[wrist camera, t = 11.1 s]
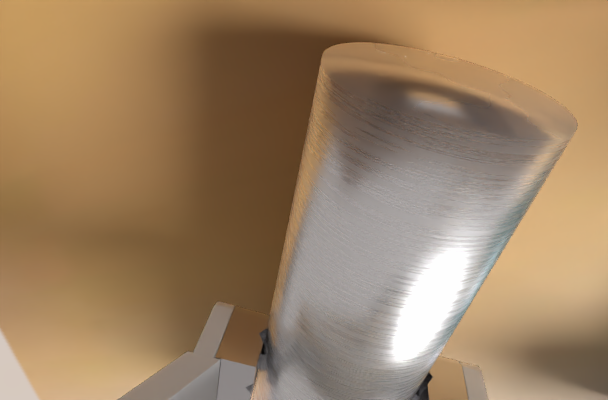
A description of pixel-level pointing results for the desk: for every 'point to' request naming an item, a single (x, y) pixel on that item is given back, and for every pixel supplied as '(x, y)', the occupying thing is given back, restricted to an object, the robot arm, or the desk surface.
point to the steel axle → (399, 216)
